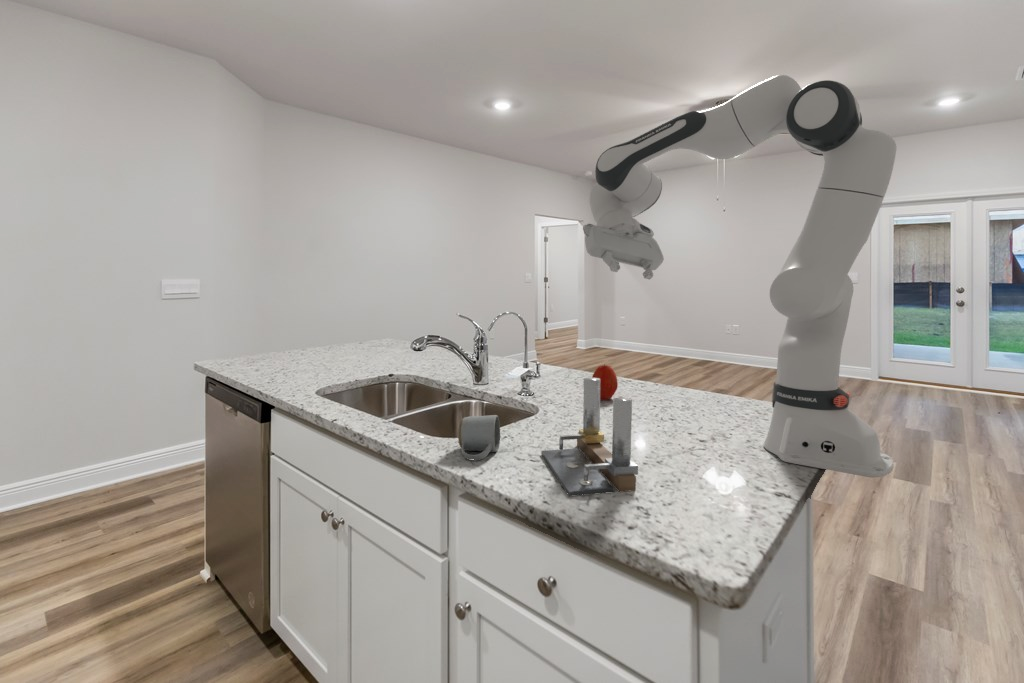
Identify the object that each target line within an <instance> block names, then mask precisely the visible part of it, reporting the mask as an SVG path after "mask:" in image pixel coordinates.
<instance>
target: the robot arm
mask: <svg viewBox="0 0 1024 683" xmlns="http://www.w3.org/2000/svg"><path fill="white" fill-rule="evenodd" d="M862 125H863V118H862V113H861V110H860V104H859V102H858V100H857V98H856V97H855V95H854V94H853V92H852V91H851V89H849V88H848V87H847V86H846V85H845V84H843V83H841V82H838V81H835V80H829V79H828V80H819V81H815V82H812V83H810V84H808V85H806V86H805V87H803V88H801V86H800V84H799V83H798V81H797V80H795V79H794V78H793V77H791V76H789V75H786V74H777V75H774V76H772V77H770V78H768V79H765V80H764V81H760V82H758V83H757V84H755V85H753V86H751V87H749V88H747V89H745V90H744V91H742V92H740V93H739V94H737V95H736V96H734V97H732V98H730V99H729V100H727V101H726V102H724V103H722V104H720V105H718V106H715V107H712V108H709V109H706V110H694V111H693V110H692V111H689V112H684V113H683V114H681V115H678V116H676V117H674V118H672V119H670V120H669V121H666V122H663V123H662V124H660V125H658V126H657V127H654V128H652V129H650V130H649V131H647V132H644V133H642V134H640V135H639V136H637V137H634V138H632V139H630V140H628V141H626V142H623V143H619V144H616V145H613V146H611V147H609V148H607V149H606V150H604V151H603V152H602V153H601V155H600V156H599V157H598V159H597V161H596V166H595V170H594V172H595V179H596V183H594V185H593V186H592V188H591V190H590V192H589V204H590V209H591V213H592V214H591V215H592V217H593V219H594V221H595V222H596V225H594V224H592V223H587V224H584V225H583V226H582V230H583V234H584V243H585V244H584V245H585V249H586V253H588V255H589V256H591V257H595V258H599V259H602V260H603V262H604V263H605V264H606V265H607V266H608V267H609V270H610V271H611V272H614V273H618V272H619V271H620V269H621V265H620V263H621V264H624V265H629V266H633V267H637V268H642V269H643V270H644V271H643V273H642V276H643V279H645V280H651V279H652V278H653V277H654V273H653V271H656V270H657V269H658V268H659V267H660V266H662V263H663V262H664V255H663V252H662V250H661V248H660V246H659V244H658V242H657V240H656V239H655V238H654V237H653V236H654V235H655V233H654V231H653V230H652V228H649V227H647V225H644V224H642V223H641V222H639V221H638V220H637V219H635V217H637V216H639V215H641V214H643V213H645V212H646V211H647V210H649V209H650V208H651V207H653V206H654V205H655V204H656V203H657V202H658V200H659V199H660V197H661V194H662V190H663V183H662V180H661V178H660V176H658V175H657V174H656V173H655V172H654V171H653V170H652V169H651V168H650V167H648V166H647V165H646V164H645V163H647V162H649V161H652V160H654V159H655V158H657V157H660V156H662V155H664V154H666V153H668V152H670V151H672V150H677V149H679V150H680V149H682V150H683V149H684V150H691V151H694V152H698V153H700V154H703V155H705V156H708V157H710V158H713V159H717V160H729V159H732V158H735V157H738V156H740V155H743V154H745V153H746V152H747V151H749V150H751V149H754V148H755V147H757V146H758V145H760V144H762V143H764V142H766V141H767V140H769V139H770V138H773V137H775V136H777V135H781V134H789V135H790V136H792V138H793V139H794V140H795V142H796V143H797V145H799V147H801V148H803V149H804V150H805V151H807V152H808V153H810V154H813V155H815V156H820V157H821V156H823V158H824V159H823V160H824V166H823V171H822V174H821V177H820V180H819V183H818V185H817V189H816V191H815V194H814V196H813V200H812V202H811V205H810V208H809V211H808V213H807V216H806V219H805V222H804V225H803V227H802V230H801V231H800V233H799V236H798V237H797V239H796V242H795V243H794V245H793V246H792V248H791V250H790V252H789V254H788V256H787V258H786V260H785V262H784V264H783V266H782V268H781V270H780V272H779V273H778V274H777V276H776V277H775V278H774V280H773V281H772V283H771V285H770V289H769V300H770V302H771V305H772V307H773V308H774V309H775V310H776V311H777V312H778V313H779V314H781V315H783V316H785V317H786V318H787V320H786V323H785V328H784V332H783V334H782V338H781V340H780V342H779V345H778V348H777V349H778V350H777V351H778V352H777V362H776V363H777V364H776V379H775V380H776V381H775V382H773V388H772V393H771V394H772V395H771V403H772V409H773V410H772V415H771V420H770V424H769V428H768V431H767V435H766V437H765V440H764V441H763V447H764V448H765V450H767V451H768V452H770V453H772V454H774V455H776V456H777V457H778V458H779V459H780V460H781V461H783V462H785V463H788V464H789V463H790V464H795V465H801V466H804V467H805V466H806V467H811V468H816V469H822V470H827V471H833V472H839V473H845V474H849V475H854V476H855V475H856V476H860V477H865V478H873V479H874V478H881V477H885V476H887V475H889V474H890V473H891V472H892V471H893V469H894V460H893V458H892V457H891V456H890V455H888V454H886V453H882V452H881V442H880V439H879V435H878V433H877V431H876V430H875V429H874V428H873V427H872V426H871V425H869V424H868V423H867V422H866V421H865V420H863V419H862V418H861V417H859V415H857V414H856V413H854V412H853V411H852V410H851V409H849V405H850V395H851V393H850V392H849V391H848V392H846V391H844V390H843V389H841V388H840V387H839V378H840V369H841V368H840V367H841V356H842V348H843V342H844V338H845V334H846V330H847V327H848V321H849V316H850V311H851V306H852V298H853V294H854V283H853V281H852V279H851V277H850V276H849V275H848V274H849V272H850V270H851V269H852V267H853V265H854V263H855V262H856V259H857V257H858V256H859V254H860V252H861V250H862V249H863V247H864V246H865V244H866V243H867V241H868V239H869V236H870V235H871V231H872V229H873V226H874V224H875V223H876V222H875V221H876V219H877V216H878V214H879V212H880V209H881V206H882V205H883V204H882V203H883V201H884V198H885V196H886V193H887V191H888V189H889V184H890V181H891V177H892V174H893V170H894V164H895V162H896V161H895V160H896V154H897V144H896V141H895V140H894V139H893V137H892V136H890V135H889V134H887V133H885V132H882V131H879V130H874V129H873V130H872V129H867V128H865V127H862Z"/></svg>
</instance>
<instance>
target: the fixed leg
mask: <svg viewBox="0 0 1024 683" xmlns="http://www.w3.org/2000/svg"><path fill="white" fill-rule="evenodd" d="M612 402H613V403H612V405H613V406H612V446H611V447H612V448H611V449H612V450H611V454H612V458H605V463H601V464H594V463H592V464H588V465H584V481H588V470H596V469H597V470H599V469H607V470H608V471H609V472H610V473H611V474H612V475H613V476H626V475H635V476H636V475H639V465H638V464H636V462H634V461H633V460H632V459H631V456H632V454H631V453H632V450H631V449H632V423H633V422H632V420H633V419H632V414H633V413H632V411H633V399H631V398H629V397H618V396H617V397H614V398H613V401H612Z"/></svg>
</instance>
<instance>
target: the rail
mask: <svg viewBox="0 0 1024 683" xmlns="http://www.w3.org/2000/svg"><path fill="white" fill-rule="evenodd" d="M576 445H577V448H578V449H579V450H580V451H581V452H582V453H583V454H584V455H585V456H586V457H587V459H588V460H589V461H590V462H591V463H592V464H601V463H605V458H612V452H610V450H608V448H606V447H605V446H604V445H603V444H602V442H601V443H587V444H585V443H584V442H583V441H582V439H576ZM598 471H599V472H600V473H601V474H602V475H603V476H604V477H605V479H606V480H607V481H608V482H609V483H610V484H611V485H612V486H613V487H614V486H615V487H616V488H617V489H618V490H619V491H623V492H630V491H629V490H634V491H636V488H637V486H636V484H637V476H636V475H626V476H613V475H612V474H611V473H610V472H609V471H608V470H607V469H598ZM615 487H614V488H615ZM616 488H615V489H616ZM617 489H616V490H617ZM618 490H617V491H618ZM619 491H618V492H619Z"/></svg>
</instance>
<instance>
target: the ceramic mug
mask: <svg viewBox="0 0 1024 683" xmlns="http://www.w3.org/2000/svg"><path fill="white" fill-rule="evenodd" d="M500 423H501V422H500V419H499V416H498V415H497V414H491V415H471V416H470V415H469V416H465V417H462V418H461V419H460V421H459V424H458V428H457V434H458V435H457V438H458V444H459V447H460V448H461V453H462V456H463V458H465V459H466V458H468V459H474V460H478V461H480V460H479V459H481V460H483V459H485V458H486V457H487V456H488V455H489V454H490V453H497V452H499V449H500V445H501V444H500V443H501V424H500ZM467 450H468V451H470V452H480V453H478V454H469V453H467V452H466V451H467ZM468 459H467V460H468Z"/></svg>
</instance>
